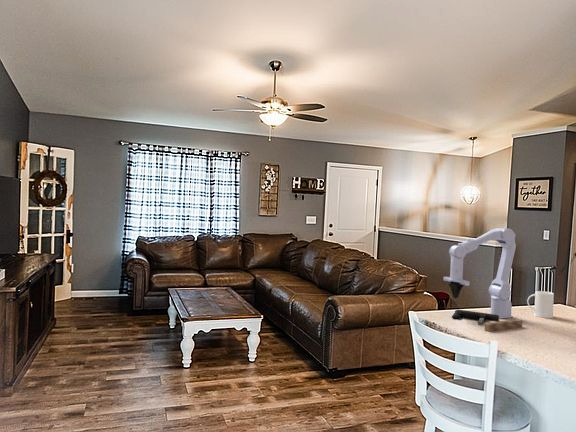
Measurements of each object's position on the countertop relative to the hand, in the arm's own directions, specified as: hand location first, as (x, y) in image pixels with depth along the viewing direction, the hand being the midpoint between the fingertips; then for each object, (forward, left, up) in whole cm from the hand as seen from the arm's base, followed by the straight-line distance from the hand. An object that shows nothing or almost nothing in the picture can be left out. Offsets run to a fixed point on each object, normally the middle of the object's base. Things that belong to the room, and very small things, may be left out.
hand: (455, 297), depth 217 cm
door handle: (-5, +8, -10) cm, 14 cm away
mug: (-45, +13, -10) cm, 48 cm away
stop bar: (-5, +24, -9) cm, 26 cm away
